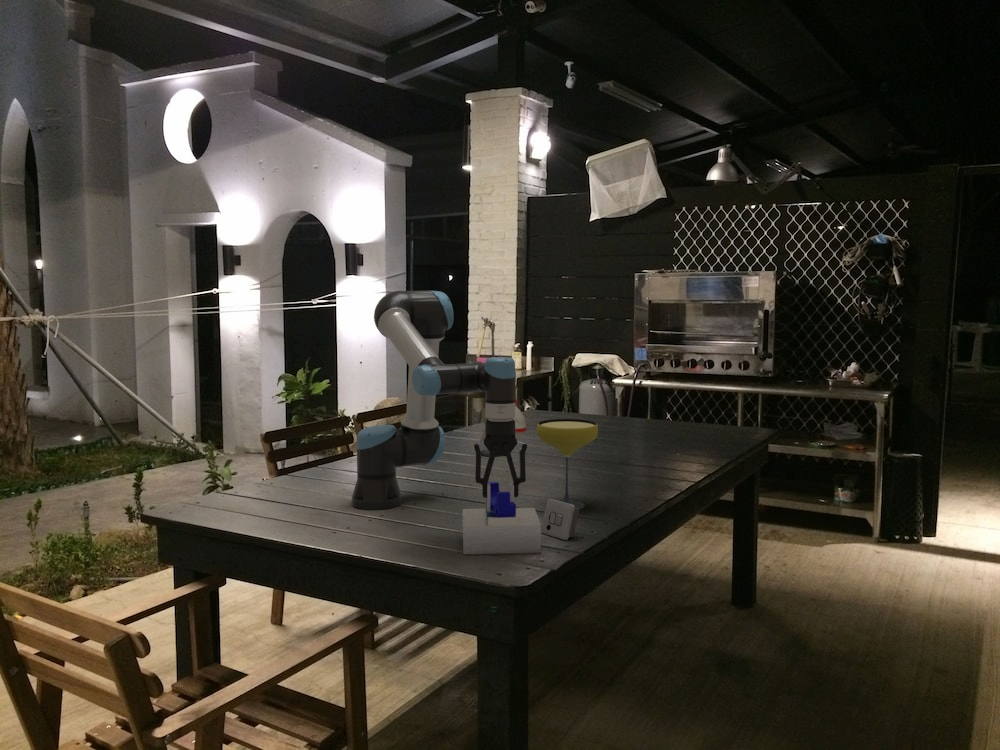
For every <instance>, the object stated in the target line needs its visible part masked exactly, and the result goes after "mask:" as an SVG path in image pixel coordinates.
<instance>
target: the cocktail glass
mask: <svg viewBox="0 0 1000 750" xmlns="http://www.w3.org/2000/svg"><path fill="white" fill-rule="evenodd" d="M598 433H599V427H598V423H597V422H595V421H591V420H587V419H586V420H585V419H578V418H556V419H554V418H553V419H546V420H541V421H539V422H537V424H536V434H537V436H538V438H539V439H540V440H541V441H543V443H546V444H548V445H549V446H551V447H553V448H555V449H556V450H558V451H559V452H560V453H561V454H562V456H563V457H564V458H565V493H564V498H563V500H561V499H560V501H561V502H565V503H568V504H572V505H574V507H575V508H578V509H579V510H582V509H584V508H585V504H584V503H583V502H581V501H576V500H570V497H569V458H570V457H571V456H572V455H573V454H574V452H575V451H577V450H579V449H580V448H582V447H584V446H587V445H589V444H590V443H592V442H593V441H594V440H595V439H596V438H597V437H598Z"/></svg>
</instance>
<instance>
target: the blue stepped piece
mask: <svg viewBox="0 0 1000 750" xmlns="http://www.w3.org/2000/svg"><path fill="white" fill-rule="evenodd" d="M488 483H490V510H491V511H492V512H493V513H494V514H495V515H496V516H497V517H513V516H516V508H517V504H516V503H515V501H514V502H510V491H500V483H499V482H498V481H491V482H489V481H488ZM485 501H486V506H487V498H486V499H485Z"/></svg>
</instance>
